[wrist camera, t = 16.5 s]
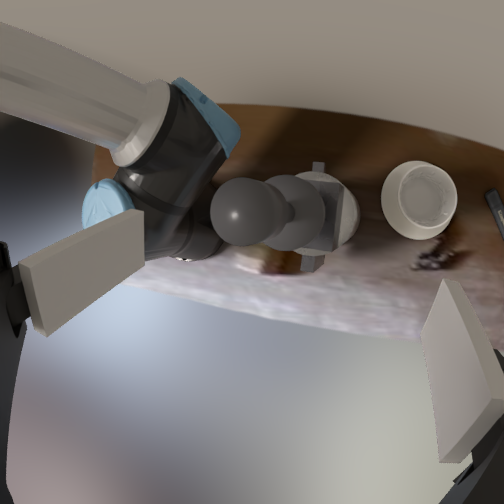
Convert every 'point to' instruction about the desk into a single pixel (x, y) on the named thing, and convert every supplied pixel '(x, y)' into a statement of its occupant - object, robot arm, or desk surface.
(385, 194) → the saucer
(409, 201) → the white cup
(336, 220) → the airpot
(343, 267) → the desk surface
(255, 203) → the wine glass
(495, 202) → the usb stick
